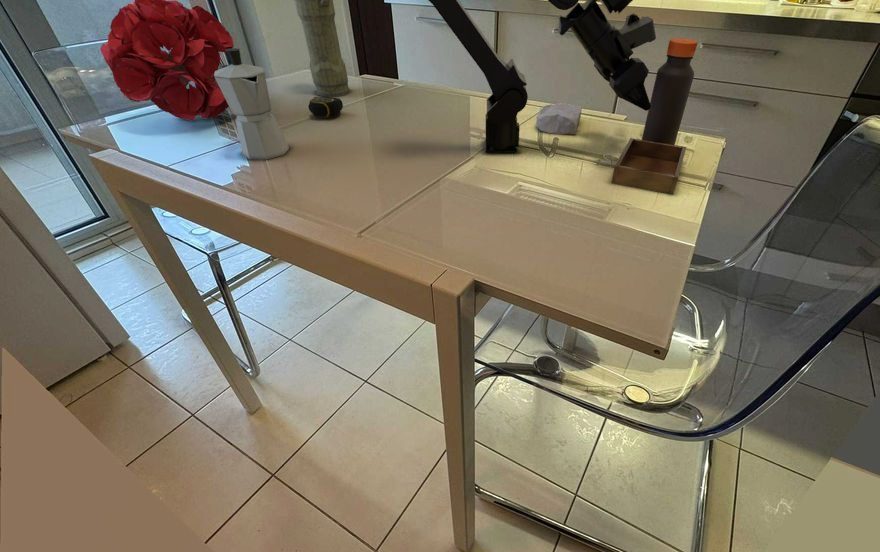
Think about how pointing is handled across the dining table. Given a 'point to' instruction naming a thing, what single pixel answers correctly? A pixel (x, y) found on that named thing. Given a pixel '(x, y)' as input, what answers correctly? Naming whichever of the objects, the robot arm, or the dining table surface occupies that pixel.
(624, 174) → the tray
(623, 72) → the robot arm
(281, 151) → the coffee maker
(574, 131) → the stone block
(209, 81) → the bouquet
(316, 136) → the dining table surface
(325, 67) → the greenish beige column
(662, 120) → the vinegar
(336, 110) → the tape measure
